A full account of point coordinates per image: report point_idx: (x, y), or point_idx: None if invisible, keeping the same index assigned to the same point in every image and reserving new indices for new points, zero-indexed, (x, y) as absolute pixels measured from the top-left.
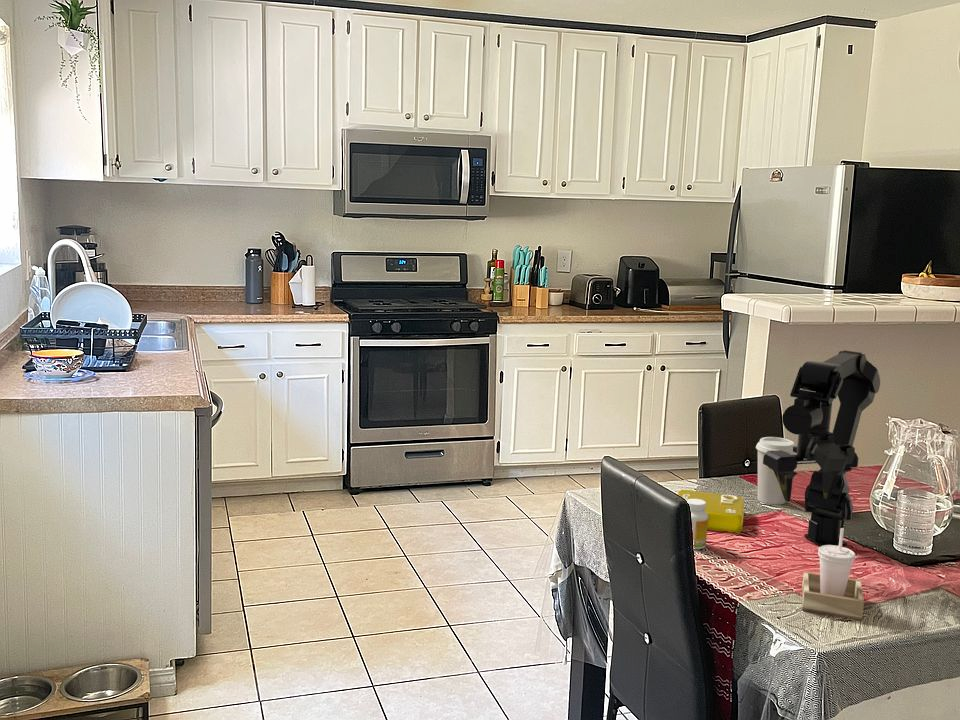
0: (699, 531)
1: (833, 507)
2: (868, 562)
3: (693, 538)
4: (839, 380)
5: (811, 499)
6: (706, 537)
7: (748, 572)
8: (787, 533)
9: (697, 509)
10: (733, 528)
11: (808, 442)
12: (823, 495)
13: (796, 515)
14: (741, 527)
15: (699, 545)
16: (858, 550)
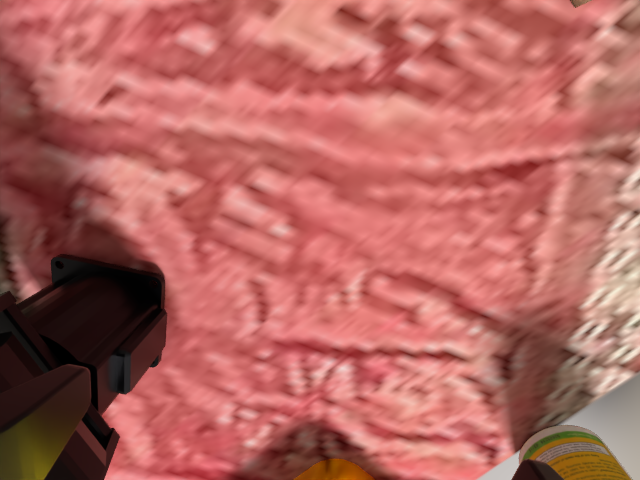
0: None
1: (13, 358)
2: (82, 101)
3: (623, 468)
4: None
5: (85, 473)
6: (549, 460)
7: (609, 229)
8: (192, 399)
9: None
10: (356, 477)
11: None
12: (77, 424)
13: None
14: (324, 473)
15: (587, 436)
16: (45, 204)
